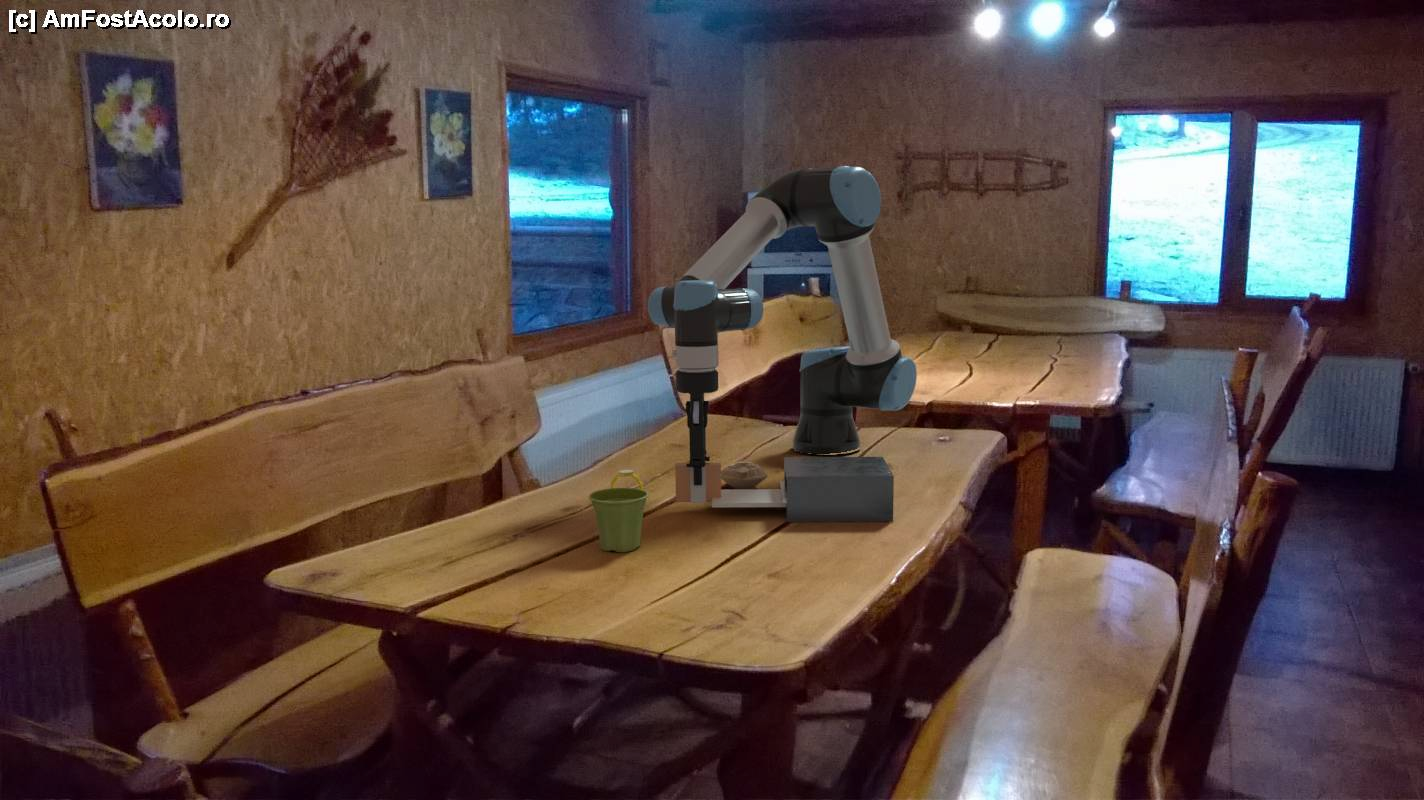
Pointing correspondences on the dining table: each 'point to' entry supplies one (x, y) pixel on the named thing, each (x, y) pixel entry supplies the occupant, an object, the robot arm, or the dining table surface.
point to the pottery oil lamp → (743, 475)
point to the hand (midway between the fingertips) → (698, 499)
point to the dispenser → (837, 489)
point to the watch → (628, 473)
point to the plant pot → (619, 517)
